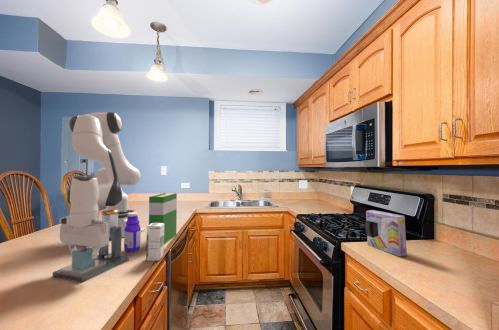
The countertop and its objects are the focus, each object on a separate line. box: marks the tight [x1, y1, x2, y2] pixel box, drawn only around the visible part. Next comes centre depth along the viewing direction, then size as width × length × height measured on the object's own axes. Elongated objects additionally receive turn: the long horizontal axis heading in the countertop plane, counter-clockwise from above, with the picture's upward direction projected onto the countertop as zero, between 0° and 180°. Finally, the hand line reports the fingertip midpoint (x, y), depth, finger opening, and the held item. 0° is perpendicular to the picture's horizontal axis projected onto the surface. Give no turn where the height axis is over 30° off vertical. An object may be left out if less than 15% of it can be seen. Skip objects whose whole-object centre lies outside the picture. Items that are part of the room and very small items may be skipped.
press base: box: [52, 227, 130, 283], centre depth 90 cm, size 20×14×14 cm
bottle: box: [123, 211, 142, 253], centre depth 110 cm, size 7×6×17 cm
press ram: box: [100, 209, 119, 242], centre depth 97 cm, size 6×6×12 cm
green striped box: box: [148, 192, 178, 245], centre depth 127 cm, size 18×7×24 cm, turn 176°
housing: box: [71, 245, 95, 269], centre depth 87 cm, size 5×5×7 cm
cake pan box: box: [365, 209, 408, 257], centre depth 111 cm, size 19×5×18 cm, turn 18°
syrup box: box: [145, 223, 165, 262], centre depth 100 cm, size 6×6×14 cm
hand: (84, 256), depth 87 cm, fingers open, 8 cm apart
